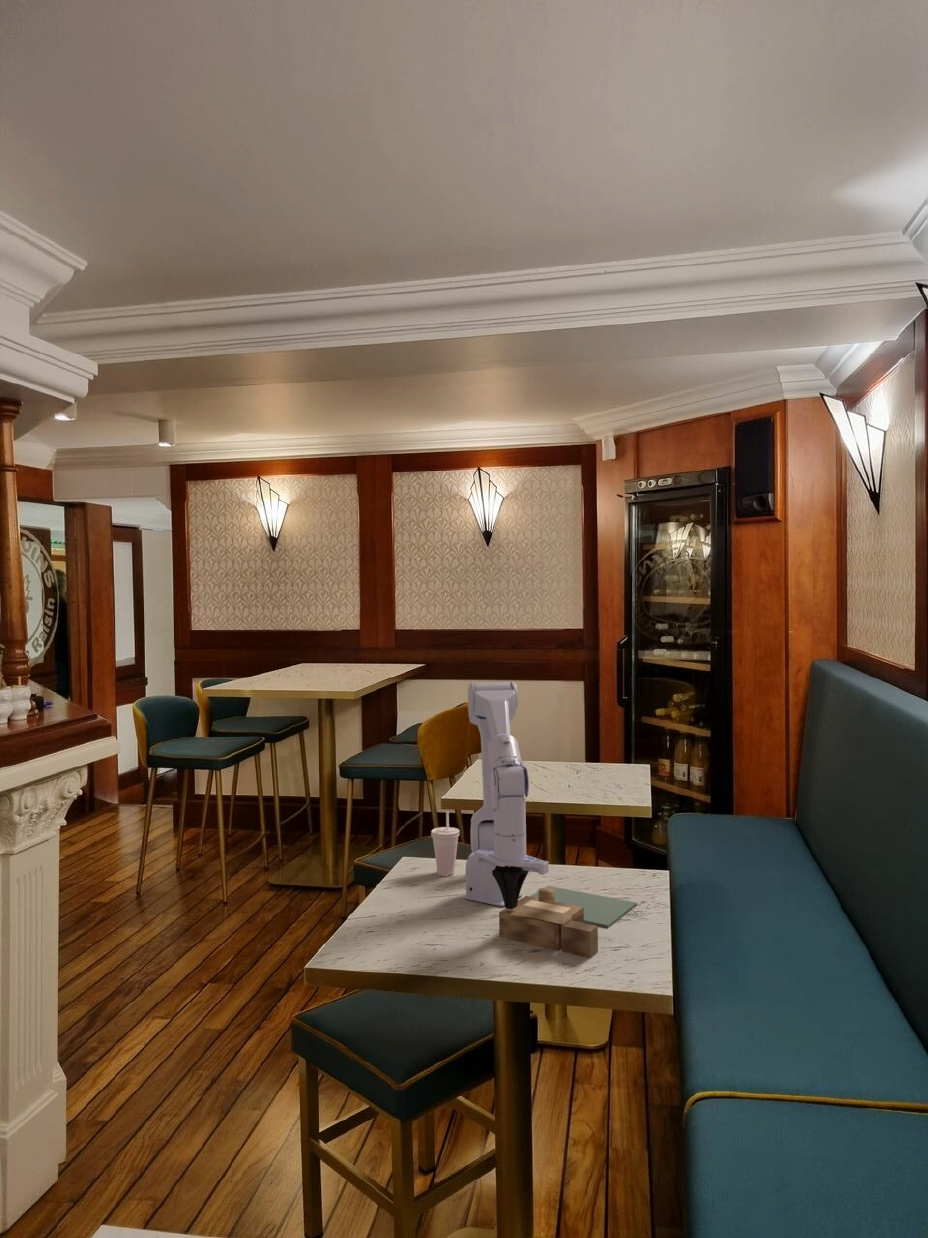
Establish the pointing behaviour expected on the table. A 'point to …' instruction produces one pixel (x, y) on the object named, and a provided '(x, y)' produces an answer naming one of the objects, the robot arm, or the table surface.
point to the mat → (594, 906)
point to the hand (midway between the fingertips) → (511, 907)
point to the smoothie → (445, 847)
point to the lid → (544, 896)
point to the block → (547, 912)
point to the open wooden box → (555, 935)
